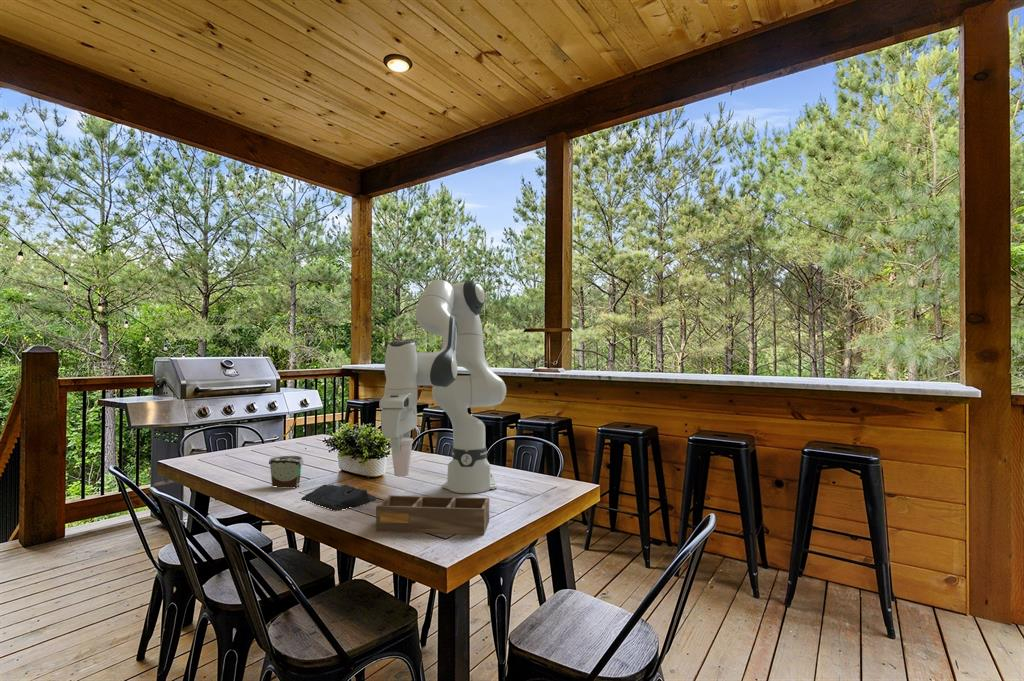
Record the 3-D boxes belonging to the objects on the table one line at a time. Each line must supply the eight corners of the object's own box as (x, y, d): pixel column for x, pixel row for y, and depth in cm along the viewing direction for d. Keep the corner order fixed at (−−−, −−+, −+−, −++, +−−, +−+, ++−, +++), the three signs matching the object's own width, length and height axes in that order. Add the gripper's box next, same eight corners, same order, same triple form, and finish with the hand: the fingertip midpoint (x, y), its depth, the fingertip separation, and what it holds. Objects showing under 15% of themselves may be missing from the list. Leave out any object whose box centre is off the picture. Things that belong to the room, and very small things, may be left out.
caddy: (388, 518, 141) (388, 495, 141) (489, 521, 138) (489, 498, 139) (375, 531, 131) (375, 506, 131) (483, 535, 128) (483, 509, 128)
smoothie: (415, 471, 139) (414, 421, 140) (411, 477, 133) (411, 424, 133) (391, 472, 139) (391, 422, 139) (387, 478, 132) (387, 425, 133)
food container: (310, 484, 178) (310, 456, 178) (300, 488, 172) (300, 459, 172) (279, 482, 180) (279, 454, 180) (268, 487, 174) (268, 458, 174)
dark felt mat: (338, 490, 171) (338, 476, 172) (380, 501, 159) (380, 486, 159) (296, 501, 159) (296, 486, 159) (338, 514, 146) (338, 498, 146)
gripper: (401, 395, 147) (401, 442, 147) (376, 402, 127) (376, 456, 126) (422, 396, 146) (422, 443, 146) (401, 402, 126) (400, 457, 126)
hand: (400, 449), depth 136 cm, fingers closed on smoothie, 6 cm apart
